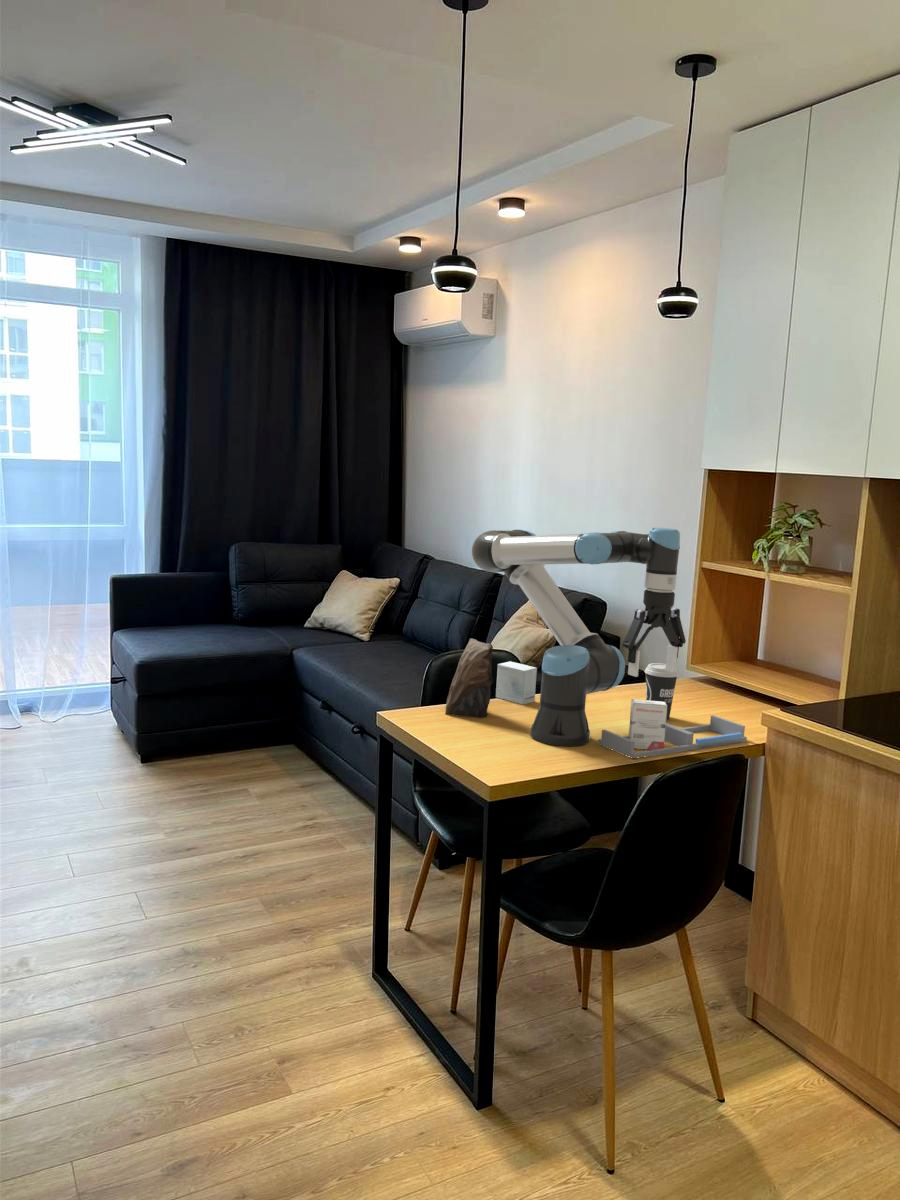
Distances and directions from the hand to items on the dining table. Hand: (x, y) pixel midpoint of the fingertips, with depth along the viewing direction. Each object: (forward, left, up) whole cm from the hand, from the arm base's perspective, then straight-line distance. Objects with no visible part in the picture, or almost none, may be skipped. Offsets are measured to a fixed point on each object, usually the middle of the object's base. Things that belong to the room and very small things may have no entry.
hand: (651, 673), depth 232 cm
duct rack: (+9, -1, -19) cm, 21 cm away
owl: (-27, +43, -19) cm, 55 cm away
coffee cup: (+23, +19, -19) cm, 36 cm away
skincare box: (-5, +50, -19) cm, 54 cm away
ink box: (-1, -1, -19) cm, 19 cm away
